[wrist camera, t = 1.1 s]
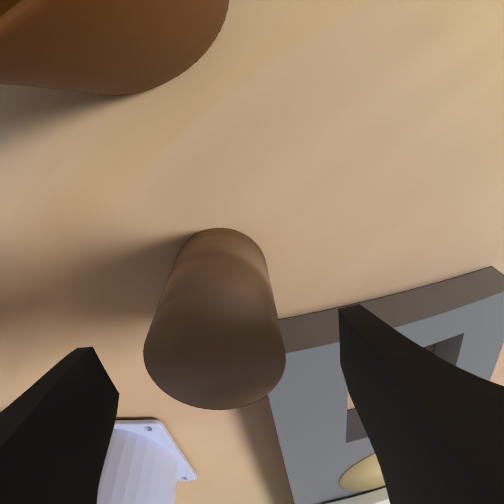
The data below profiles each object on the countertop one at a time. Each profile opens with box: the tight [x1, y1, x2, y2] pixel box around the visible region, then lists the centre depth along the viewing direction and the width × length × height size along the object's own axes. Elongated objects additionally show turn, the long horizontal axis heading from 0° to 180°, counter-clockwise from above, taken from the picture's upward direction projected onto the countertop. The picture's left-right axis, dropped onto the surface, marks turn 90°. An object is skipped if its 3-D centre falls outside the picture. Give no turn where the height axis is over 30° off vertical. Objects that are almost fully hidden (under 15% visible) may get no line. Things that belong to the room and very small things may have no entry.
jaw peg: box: [143, 228, 286, 410], centre depth 11 cm, size 4×4×6 cm
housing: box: [268, 266, 504, 504], centre depth 19 cm, size 14×26×3 cm, turn 10°
